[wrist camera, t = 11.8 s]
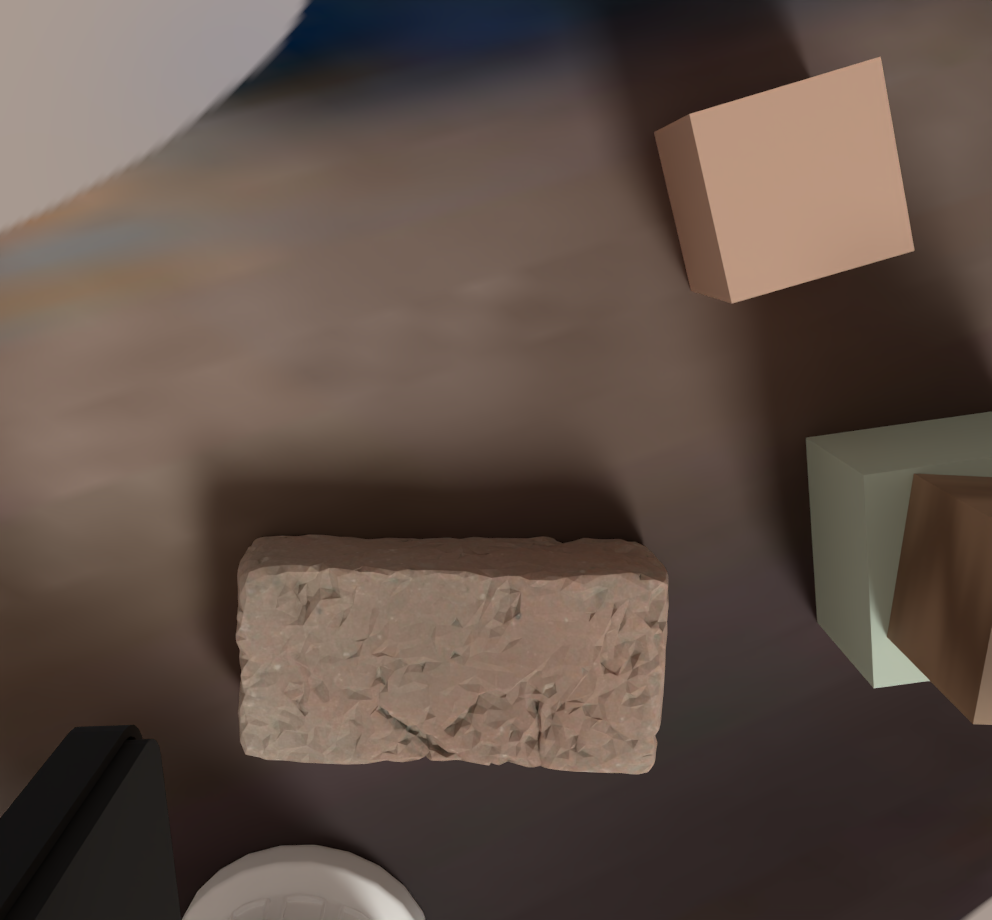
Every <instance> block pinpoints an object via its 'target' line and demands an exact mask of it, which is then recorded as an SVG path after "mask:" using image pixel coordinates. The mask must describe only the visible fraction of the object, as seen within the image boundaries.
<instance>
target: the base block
mask: <svg viewBox="0 0 992 920" xmlns="http://www.w3.org/2000/svg"><path fill="white" fill-rule="evenodd" d="M806 451H807V467H808V483H809V499H810V515H811V531H812V547H813V563H814V579H815V595H816V611H817V623H818V624H819V625H820V626H821V627H822V628H823V630H824V631H825V632H826V633H827V634H828V635H829V637H830V638H831V639H832V640H833V641H834V642H835V644H836V645H837V646H838V647H839V648H840V649H841V651H842V652H843V653H844V654H845V655H846V656H847V658H848V659H849V660H850V661H851V662H852V663H853V665H854V666H855V667H856V668H857V669H858V670H859V672H860V673H861V674H862V675H863V676H864V677H865V679H866V680H867V681H868V682H869V683H870V684H871V686H872V687H873V688H880V687H887V686H894V685H902V684H909V683H916V682H924V681H930V680H929V679H928V678H927V677H926V676H925V675H924V674H923V673H922V672H921V671H920V670H919V669H918V668H917V667H916V666H915V665H914V664H913V663H912V662H911V661H910V660H909V659H908V658H907V657H906V656H905V655H904V654H903V653H902V652H901V651H900V650H899V649H898V648H897V647H896V646H895V645H894V644H893V643H892V642H891V641H890V640H889V639H888V638H887V633H888V627H889V621H890V615H891V609H892V603H893V597H894V590H895V584H896V578H897V572H898V566H899V560H900V554H901V548H902V542H903V536H904V530H905V523H906V517H907V511H908V505H909V499H910V493H911V487H912V481H913V475H914V474H936V475H958V476H980V477H992V411H991V412H984V413H977V414H970V415H963V416H956V417H948V418H941V419H934V420H927V421H920V422H913V423H906V424H899V425H892V426H885V427H878V428H870V429H863V430H856V431H849V432H842V433H835V434H828V435H821V436H814V437H807V438H806Z"/></svg>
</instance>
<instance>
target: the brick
mask: <svg viewBox="0 0 992 920" xmlns="http://www.w3.org/2000/svg"><path fill="white" fill-rule="evenodd" d="M237 583H238V612H237V621H238V623H237V630H236V642H237V645H238V647H239V649H240V654H239V660H240V666H241V682H240V692H239V708H238V716H239V729H240V742H241V745H242V747H243V750H244V752H245V754H246V755H250V756H254V757H260V758H263V759H265V760H286V761H295V762H305V763H327V764H367V763H373V762H379V761H385V760H389V761H395V762H407V761H413V760H418V759H421V758H423V757H424V756H425V755H426V756H427V758H429V759H430V760H432V761H447V760H463V761H467V762H471V763H478V764H484V765H490V763H494V764H497V765H501V764H503V763H505V762H507V761H509V762H512V763H515V764H518V765H522V766H526V767H536V766H542V767H545V768H549V769H556V770H564V771H576V772H600V773H627V774H642V773H646V772H648V771H649V770H650V769H651V767H652V766H653V765H654V762H655V756H656V747H657V740H656V737H655V735H656V733H657V732H658V730H659V728H660V724H661V713H662V701H663V689H664V673H665V649H666V640H667V616H668V605H669V602H668V573H667V571H666V569H665V567H664V565H663V564H662V563H661V562H660V561H659V560H658V559H657V558H656V557H655V556H654V554H653V553H652V552H651V551H649V550H648V548H647V547H646V546H644V545H641V544H639V543H637V542H627V541H625V540H622V539H590V538H582V539H578V540H575V541H571V542H566V543H561V542H558V541H556V540H555V539H554V538H550V537H545V536H539V537H533V538H482V537H469V538H463V539H456V538H449V537H448V538H447V537H445V538H426V539H415V538H381V539H362V538H355V537H337V536H329V535H303V536H271V537H261V538H257V539H255V540H254V541H253V543H252V546H250V547H248V549H247V551H246V552H245V554H244V556H243V558H242V559H241V561H240V563H239V567H238V573H237Z"/></svg>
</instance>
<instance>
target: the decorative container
mask: <svg viewBox="0 0 992 920" xmlns="http://www.w3.org/2000/svg"><path fill="white" fill-rule="evenodd" d="M182 920H426V919H425V917H424V914H423V911H422V909H421V908H420V907H419V905H418V904H417V902H416V901H415V900H414V898H413V897H412V896H411V894H410V893H409V891H408V890H407V889H406V887H405V886H404V885H403V884H401V883H400V882H399V881H398V880H397V879H395V878H394V877H393V876H392V875H390V874H389V873H388V872H387V871H386V870H384V869H383V868H382V867H381V866H379V865H377V864H375V863H373V862H371V861H368V860H366V859H364V858H362V857H360V856H358V855H355V854H353V853H351V852H349V851H344V850H339V849H334V848H329V847H325V846H320V845H281V846H277V847H273V848H269V849H265V850H261V851H257V852H254V853H250V854H247V855H245V856H244V857H242V858H240V859H238V860H236V861H234V862H233V863H231V864H229V865H227V866H225V867H224V868H222V869H220V870H219V871H218V872H217V873H216V874H215V875H214V876H213V877H212V878H211V879H209V880H208V881H207V882H206V883H205V884H204V885H203V886H202V887H201V888H200V889H199V890H198V891H197V893H196V895H195V897H194V898H193V900H192V902H191V904H190V905H189V907H188V909H187V911H186V913H185V914H184V916H183V918H182Z"/></svg>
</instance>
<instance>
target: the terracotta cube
mask: <svg viewBox="0 0 992 920" xmlns="http://www.w3.org/2000/svg"><path fill="white" fill-rule="evenodd" d="M654 135H655V139H656V143H657V148H658V152H659V156H660V160H661V165H662V169H663V173H664V177H665V182H666V186H667V190H668V195H669V199H670V203H671V207H672V212H673V216H674V220H675V224H676V229H677V233H678V237H679V241H680V246H681V250H682V254H683V259H684V263H685V267H686V271H687V276H688V280H689V284H690V288H691V291H693V292H696V293H699V294H702V295H706V296H709V297H712V298H715V299H718V300H722V301H725V302H728V303H731V304H732V303H736V302H739V301H743V300H746V299H749V298H753V297H756V296H760V295H763V294H767V293H770V292H774V291H777V290H781V289H784V288H787V287H791V286H794V285H798V284H801V283H805V282H808V281H812V280H815V279H819V278H822V277H825V276H829V275H832V274H836V273H839V272H843V271H846V270H850V269H853V268H857V267H860V266H864V265H867V264H870V263H874V262H877V261H881V260H884V259H888V258H891V257H895V256H898V255H902V254H905V253H908V252H912V251H915V250H914V245H913V239H912V233H911V228H910V222H909V216H908V210H907V205H906V199H905V193H904V187H903V182H902V176H901V170H900V165H899V159H898V153H897V147H896V142H895V136H894V130H893V125H892V119H891V113H890V107H889V102H888V96H887V90H886V84H885V79H884V73H883V67H882V62H881V57H878V58H875V59H871V60H868V61H865V62H861V63H858V64H855V65H851V66H848V67H845V68H841V69H838V70H835V71H831V72H828V73H825V74H821V75H818V76H815V77H811V78H808V79H805V80H801V81H798V82H795V83H791V84H788V85H785V86H781V87H778V88H775V89H771V90H768V91H765V92H761V93H758V94H755V95H751V96H748V97H744V98H741V99H738V100H734V101H731V102H728V103H724V104H721V105H718V106H714V107H711V108H708V109H704V110H701V111H698V112H694V113H691V114H688V115H686V116H684V117H683V118H681V119H679V120H677V121H675V122H673V123H671V124H669V125H667V126H665V127H663V128H661V129H659V130H657V131H655V132H654Z"/></svg>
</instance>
